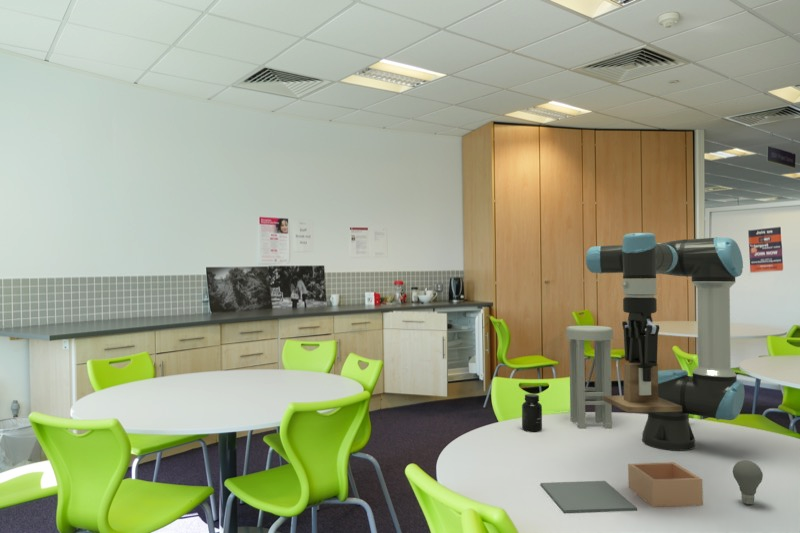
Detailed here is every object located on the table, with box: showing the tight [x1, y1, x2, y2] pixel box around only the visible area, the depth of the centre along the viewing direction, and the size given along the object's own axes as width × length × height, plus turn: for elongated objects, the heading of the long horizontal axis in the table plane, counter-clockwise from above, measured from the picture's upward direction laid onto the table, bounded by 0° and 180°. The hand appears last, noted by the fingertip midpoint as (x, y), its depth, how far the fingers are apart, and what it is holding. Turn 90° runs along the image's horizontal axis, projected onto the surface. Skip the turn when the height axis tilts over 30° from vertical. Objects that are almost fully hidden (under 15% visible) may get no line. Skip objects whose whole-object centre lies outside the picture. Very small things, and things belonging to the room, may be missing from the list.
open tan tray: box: [627, 462, 704, 508], centre depth 136 cm, size 12×12×6 cm
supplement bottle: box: [521, 393, 543, 433], centre depth 196 cm, size 7×7×12 cm
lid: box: [603, 362, 682, 414], centre depth 137 cm, size 13×13×10 cm
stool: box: [565, 325, 614, 430], centre depth 203 cm, size 16×16×35 cm
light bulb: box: [732, 459, 764, 505], centre depth 132 cm, size 6×6×10 cm
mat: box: [540, 480, 638, 514], centre depth 136 cm, size 17×17×1 cm
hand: (640, 393), depth 136 cm, fingers closed on lid, 3 cm apart
